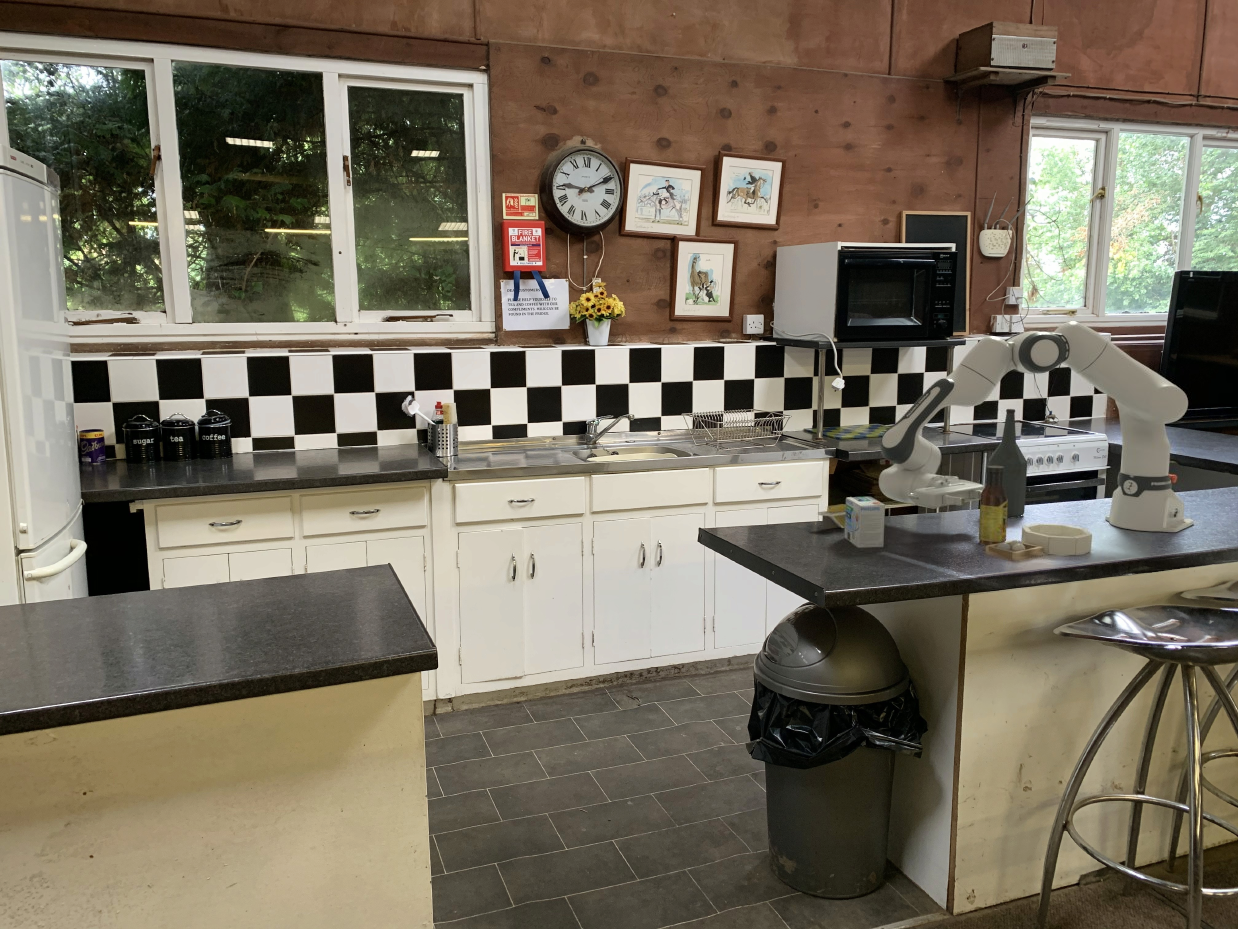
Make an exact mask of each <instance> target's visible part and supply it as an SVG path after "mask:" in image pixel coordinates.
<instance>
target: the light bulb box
mask: <svg viewBox="0 0 1238 929" xmlns="http://www.w3.org/2000/svg"><path fill="white" fill-rule="evenodd" d="M845 505H846V517H845V528H844V538H845V539H846V540H847V541H849V543H851V544H852V545H854V546H855V547H856V548H858V549H860V548H862V549H863V548H884V535H885V534H884V533H885V511H886V504H884V503H882V502H881V501H879V500H878V499H876V498H874V497H872V496H855V497H854V496H853V497H852V496H850V497H845Z"/></svg>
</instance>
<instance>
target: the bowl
mask: <svg viewBox="0 0 1238 929" xmlns="http://www.w3.org/2000/svg"><path fill="white" fill-rule="evenodd" d="M1092 538H1093V534H1092V533H1091V532H1090V530H1088V529H1086V528H1083V527H1078V526H1073V525H1068V524H1060V523H1034V524H1027V525H1023V526H1022V527H1021V540H1020V541H1021V542H1023V543H1028V544H1032V545H1036V546H1040V547H1043V555H1052V556H1054V555H1055V556H1081V555H1086V554H1088V553H1090V552H1092V540H1093V539H1092Z"/></svg>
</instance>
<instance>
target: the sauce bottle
mask: <svg viewBox="0 0 1238 929" xmlns="http://www.w3.org/2000/svg"><path fill="white" fill-rule="evenodd" d="M985 468H986V470H985V473H986V482H985V484H986V485H985V486H984V487H985V488H984V489H983V491H982V493H981V500H980V504H979V522H978V542H979V543H978V544H980V545H981V546H985V547H986V546H988V545H993V544H997V543H1002V542H1007V541H1006V540H1007V526H1008V525H1007V524H1008V523H1007V522H1008V521H1007V520H1008V519H1007V505H1008V498H1007V495H1006V492H1005V489H1004V486H1003V473H1004V467H1002V466H988V465H987V466H986V467H985Z"/></svg>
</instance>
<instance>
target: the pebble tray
mask: <svg viewBox="0 0 1238 929" xmlns="http://www.w3.org/2000/svg"><path fill="white" fill-rule="evenodd" d="M1014 540H1015V539H1013V540H1008V541H1005V542H1004V543H1007V544H1009V546H1010V544H1011V542H1012V541H1014ZM1022 543H1023V542H1022ZM998 544H1000V543H997V544H993V545H988V546H985V555H986V556H990V557H995V558H998V559H1003V560H1007V561H1009V562H1010V561H1011V562H1014V563H1016V562H1022V561H1025V560H1029V559H1035V558H1039V557H1042V556H1044V553H1043V547H1040V546H1036V545H1032V544H1028V543H1023V545H1024V546H1025V548H1026V550H1021V551H1017V552H1013V551H1012V550H1011V549H1010V551H1009V550H1005V549H1001V548H997V546H998Z"/></svg>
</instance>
